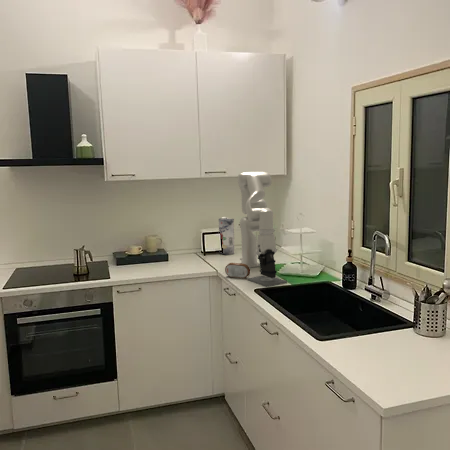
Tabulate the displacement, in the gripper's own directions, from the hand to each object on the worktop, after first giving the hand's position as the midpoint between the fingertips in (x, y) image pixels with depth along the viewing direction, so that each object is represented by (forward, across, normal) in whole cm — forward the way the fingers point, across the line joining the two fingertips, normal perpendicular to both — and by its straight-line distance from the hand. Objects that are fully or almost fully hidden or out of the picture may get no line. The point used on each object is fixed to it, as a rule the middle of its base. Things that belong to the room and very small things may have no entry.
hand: (266, 264), depth 264 cm
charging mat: (+10, 0, 0) cm, 10 cm away
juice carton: (+10, -24, -79) cm, 83 cm away
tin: (+10, +8, -17) cm, 22 cm away
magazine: (+6, 0, 0) cm, 6 cm away
